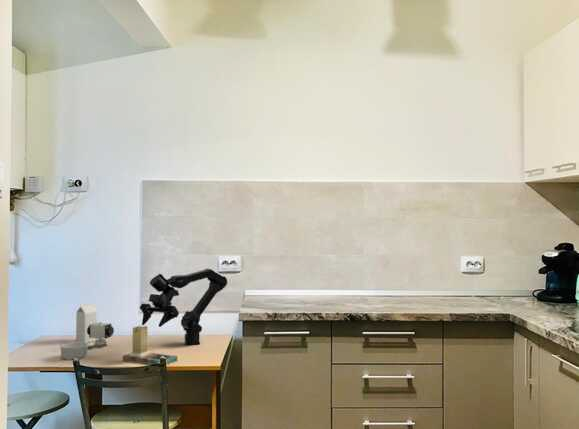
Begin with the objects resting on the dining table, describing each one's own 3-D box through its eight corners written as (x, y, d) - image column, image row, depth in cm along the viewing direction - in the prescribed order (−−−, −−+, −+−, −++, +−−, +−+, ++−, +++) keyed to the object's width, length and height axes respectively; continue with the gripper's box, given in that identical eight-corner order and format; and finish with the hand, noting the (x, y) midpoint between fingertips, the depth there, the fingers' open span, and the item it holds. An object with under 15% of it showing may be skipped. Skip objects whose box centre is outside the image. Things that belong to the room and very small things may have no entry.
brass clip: (139, 350, 216) (139, 325, 216) (147, 351, 214) (147, 326, 214) (132, 353, 212) (132, 327, 212) (140, 354, 210) (140, 328, 210)
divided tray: (177, 360, 211) (177, 353, 211) (164, 366, 202) (164, 358, 202) (136, 355, 219) (136, 348, 219) (122, 360, 211) (122, 353, 211)
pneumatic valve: (108, 348, 231) (108, 323, 232) (86, 347, 234) (86, 322, 234) (114, 345, 237) (115, 321, 237) (93, 344, 239) (93, 320, 239)
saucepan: (102, 360, 211) (102, 347, 211) (55, 360, 210) (55, 348, 211) (110, 353, 223) (110, 341, 223) (66, 354, 222) (66, 341, 222)
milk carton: (97, 340, 248) (97, 303, 248) (84, 343, 242) (85, 305, 242) (88, 339, 251) (88, 302, 252) (75, 341, 245) (76, 304, 246)
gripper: (142, 286, 229) (125, 313, 219) (175, 288, 222) (160, 316, 212) (152, 300, 236) (137, 327, 226) (185, 303, 229) (170, 331, 219)
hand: (150, 325), depth 220 cm, fingers open, 9 cm apart
